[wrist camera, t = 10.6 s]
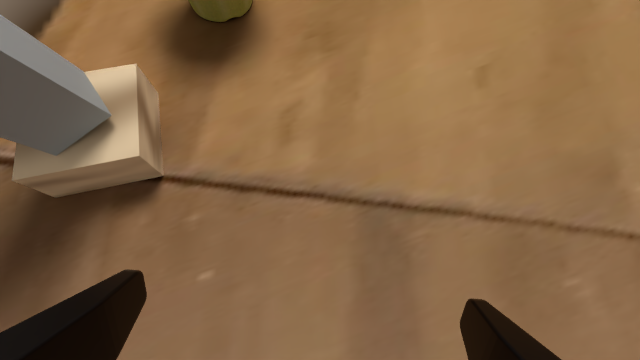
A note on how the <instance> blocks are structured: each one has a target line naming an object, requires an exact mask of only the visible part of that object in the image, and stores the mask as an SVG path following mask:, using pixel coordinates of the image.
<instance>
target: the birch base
mask: <svg viewBox="0 0 640 360" xmlns="http://www.w3.org/2000/svg"><path fill="white" fill-rule="evenodd" d="M84 73H85V74H86V76H87V78H88V79H89V81H90V82H91V84H92V85H93V87H94V88H95V90H96V92H97V93H98V95H99V96H100V98H101V99H102V101H103V102H104V104H105V106H106V107H107V109H108V110H109V112H110V113H111V115H112V116H110V117H109V118H108V119H106V120H105V121H103V122H102V123H101V124H99V125H98V126H97V127H95V128H94V129H92V130H91V131H90V132H88V133H87V134H86V135H84V136H83V137H81V138H80V139H79V140H77V141H76V142H75V143H73V144H72V145H70V146H69V147H68V148H66V149H65V150H64V151H62V152H61V153H59V154H58V155H57V156H55V155H52V154H49V153H46V152H43V151H40V150H37V149H34V148H31V147H28V146H25V145H22V144H19V143H16V151H15V159H14V168H13V176H12V181H14V182H17V183H19V184H22V185H24V186H27V187H29V188H32V189H34V190H37V191H40V192H42V193H45V194H47V195H50V196H52V197H55V198H57V197H62V196H67V195H72V194H77V193H82V192H86V191H91V190H96V189H101V188H106V187H111V186H116V185H121V184H126V183H131V182H136V181H141V180H146V179H150V178H155V177H160V176H164V173H163V157H162V142H161V127H160V111H159V96H158V92H157V91H156V90H155V88H154V87H153V86H152V84H151V83H150V82H149V80H148V79H147V78H146V76H145V75H144V74H143V72H142V71H141V70H140V68H139V67H138V66H137V64H131V65H125V66H119V67H113V68H107V69H100V70H94V71H88V72H84Z"/></svg>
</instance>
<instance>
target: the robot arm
mask: <svg viewBox="0 0 640 360" xmlns="http://www.w3.org/2000/svg"><path fill="white" fill-rule="evenodd" d="M146 297H147V292H146V287H145V282H144V276H143V273H142V272H141V271H139V270H123V271H121V272H119V273H117V274H115V275H113V276H111V277H109V278H108V279H106V280H104V281H102V282H100V283H98V284H96V285H94V286H92V287H90V288H88V289H86V290H84V291H82V292H80V293H78V294H76V295H74V296H72V297H70V298H68V299H66V300H64V301H62V302H60V303H58V304H56V305H54V306H52V307H50V308H48V309H46V310H44V311H42V312H40V313H38V314H36V315H34V316H32V317H30V318H29V319H27V320H25V321H23V322H21V323H19V324H17V325H15V326H13V327H11V328H9V329H7V330H5V331H3V332H1V333H0V360H116V359H117V357H118V356H119V354H120V352H121V350H122V348H123V346H124V344H125V342H126V340H127V338H128V336H129V334H130V332H131V330H132V328H133V326H134V324H135V322H136V320H137V318H138V316H139V314H140V312H141V310H142V308H143V305H144V303H145V301H146ZM460 329H461V333H462V337H463V341H464V345H465V348H466V352H467V356H468V360H561V359H560V358H559V357H557V356H556V355H555V354H554V353H552V352H551V351H550V350H548V349H547V348H546V347H545V346H543V345H542V344H541V343H539V342H538V341H537V340H536V339H534V338H533V337H532V336H530V335H529V334H528V333H527V332H525V331H524V330H523V329H521V328H520V327H519V326H518V325H516V324H515V323H514V322H512V321H511V320H510V319H509V318H507V317H506V316H505V315H503V314H502V313H501V312H500V311H498V310H497V309H496V308H494V307H493V306H492V305H491V304H489V303H488V302H487V301H485V300H482V299H469V300H468V301H467V302H466V305H465V308H464V311H463V314H462V317H461V320H460Z"/></svg>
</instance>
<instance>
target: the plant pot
mask: <svg viewBox="0 0 640 360" xmlns="http://www.w3.org/2000/svg"><path fill="white" fill-rule="evenodd" d="M188 1H189V2H190V4H191V6H192V8H193V9H194V11H195V12H196V13H197V14H198V15H199V16H201V17H202V18H204V19H207V20H210V21H215V22H225V21H227V20H228V19H230V18H233V17H241V16H242V15H244V14H245V13H246V12H247V11H248V10H249V8H250V7H251V4H252V0H188Z"/></svg>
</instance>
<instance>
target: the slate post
mask: <svg viewBox="0 0 640 360" xmlns="http://www.w3.org/2000/svg"><path fill="white" fill-rule="evenodd" d="M110 116H112V115H111V113H110V112H109V110H108V109H107V107H106V106H105V104H104V102H103V101H102V99H101V98H100V96H99V95H98V93H97V92H96V90H95V88H94V87H93V85H92V84H91V82H90V81H89V79H88V78H87V76H86V74H85V73H84V72H83V71H82V70H81V69H79V68H78V67H76V66H75V65H73V64H72V63H70V62H69V61H67V60H66V59H64V58H63V57H62V56H60V55H59V54H57V53H56V52H54V51H53V50H51V49H50V48H48V47H47V46H46V45H44V44H43V43H41V42H40V41H38V40H37V39H35V38H34V37H32V36H31V35H29V34H28V33H27V32H25V31H24V30H22V29H21V28H19V27H18V26H16V25H15V24H13V23H12V22H10V21H9V20H7V19H6V18H5V17H3V16H2V15H0V137H2V138H4V139H7V140H10V141H13V142H16V143H19V144H22V145H25V146H28V147H31V148H34V149H37V150H40V151H43V152H46V153H49V154H52V155H55V156H57V155H58V154H59V153H61V152H62V151H64V150H65V149H66V148H68V147H69V146H70V145H72V144H73V143H75V142H76V141H77V140H79V139H80V138H81V137H83V136H84V135H86V134H87V133H88V132H90V131H91V130H92V129H94V128H95V127H97V126H98V125H99V124H101V123H102V122H103V121H105V120H106V119H108V118H109V117H110Z"/></svg>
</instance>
